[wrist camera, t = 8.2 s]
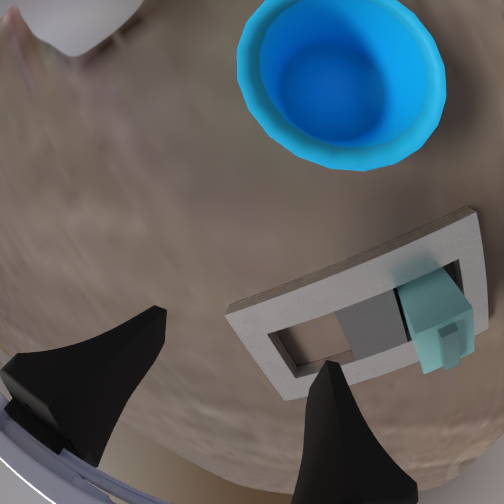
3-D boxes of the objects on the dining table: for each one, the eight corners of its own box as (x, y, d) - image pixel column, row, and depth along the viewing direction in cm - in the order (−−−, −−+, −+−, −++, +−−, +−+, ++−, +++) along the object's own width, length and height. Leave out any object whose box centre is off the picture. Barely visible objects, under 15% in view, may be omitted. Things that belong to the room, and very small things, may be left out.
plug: (440, 264, 18) (477, 315, 12) (447, 304, 20) (478, 358, 13) (394, 284, 20) (419, 342, 14) (405, 322, 21) (426, 382, 15)
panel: (466, 206, 16) (476, 211, 15) (482, 318, 19) (488, 328, 18) (229, 304, 23) (224, 315, 22) (286, 389, 26) (285, 400, 25)
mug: (381, 168, 17) (427, 194, 10) (258, 142, 18) (222, 149, 11) (401, 10, 12) (443, -43, 5) (283, -15, 13) (263, -82, 6)
